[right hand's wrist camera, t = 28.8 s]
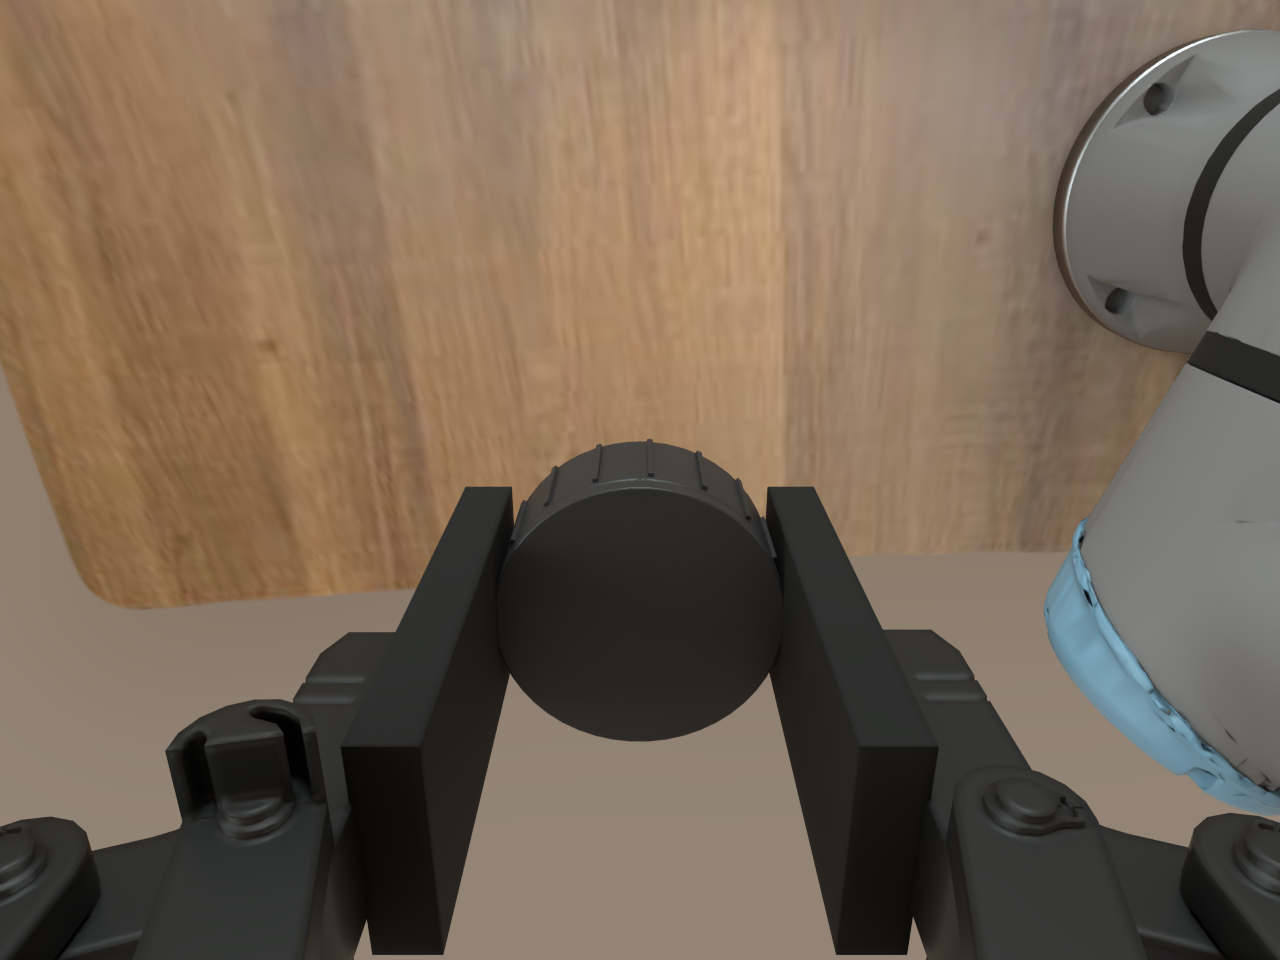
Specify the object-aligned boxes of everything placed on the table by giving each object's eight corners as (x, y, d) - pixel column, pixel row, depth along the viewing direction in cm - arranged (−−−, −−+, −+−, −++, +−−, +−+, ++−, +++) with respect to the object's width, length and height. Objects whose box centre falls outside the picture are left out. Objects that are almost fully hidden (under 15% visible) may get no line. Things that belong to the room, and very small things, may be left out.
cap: (825, 550, 15) (852, 611, 13) (650, 714, 16) (652, 792, 14) (627, 381, 14) (626, 422, 12) (456, 571, 15) (430, 635, 13)
